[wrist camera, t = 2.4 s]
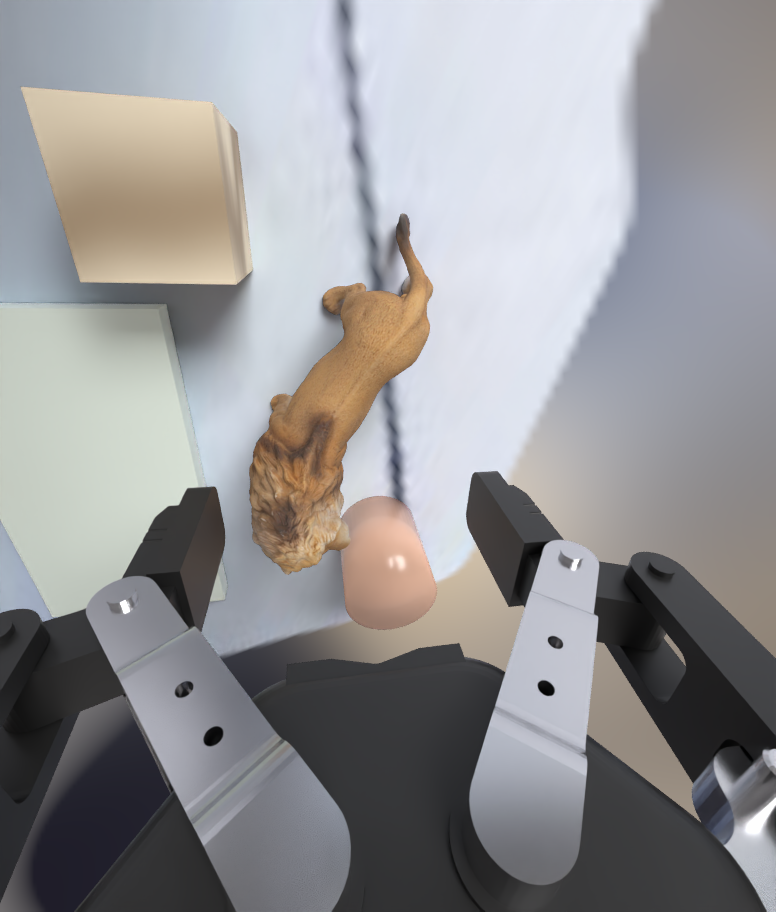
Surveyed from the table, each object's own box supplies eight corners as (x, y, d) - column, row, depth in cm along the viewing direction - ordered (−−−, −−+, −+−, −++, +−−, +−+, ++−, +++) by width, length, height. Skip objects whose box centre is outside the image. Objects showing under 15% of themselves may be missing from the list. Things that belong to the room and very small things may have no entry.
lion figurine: (333, 486, 25) (343, 602, 18) (245, 460, 23) (213, 577, 16) (449, 240, 20) (538, 253, 12) (344, 181, 18) (369, 152, 10)
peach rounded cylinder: (337, 498, 26) (344, 568, 21) (416, 493, 27) (441, 559, 21) (339, 558, 28) (346, 634, 23) (411, 552, 29) (432, 624, 24)
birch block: (99, 122, 16) (20, 86, 11) (237, 132, 16) (211, 102, 12) (134, 267, 18) (80, 282, 14) (253, 269, 19) (236, 284, 15)
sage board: (-89, 302, 17) (-114, 307, 16) (166, 304, 19) (158, 308, 18) (62, 601, 26) (52, 617, 25) (227, 585, 28) (224, 600, 27)
